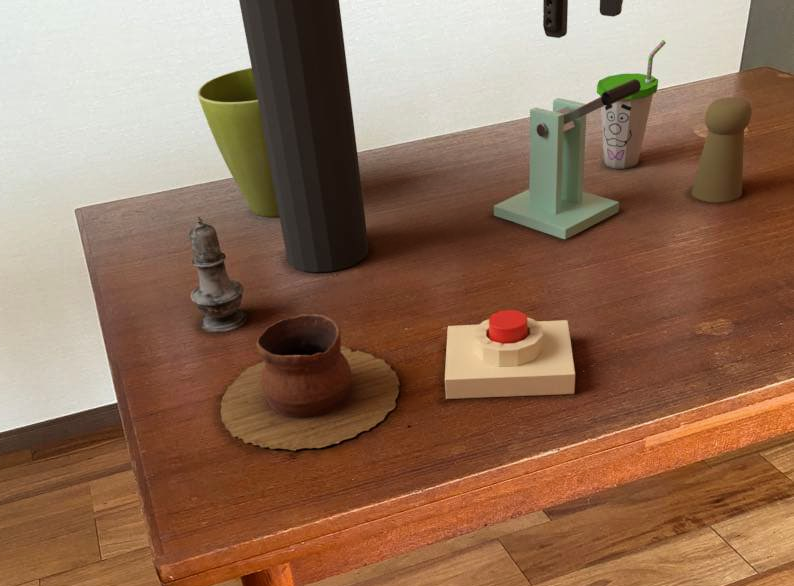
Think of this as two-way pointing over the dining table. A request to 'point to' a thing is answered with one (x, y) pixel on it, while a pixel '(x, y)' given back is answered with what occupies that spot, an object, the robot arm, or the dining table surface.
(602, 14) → the robot arm
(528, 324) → the button block
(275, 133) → the dark grey column
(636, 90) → the lever
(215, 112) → the flower pot
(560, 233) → the bracket
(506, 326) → the button
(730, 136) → the olive pawn
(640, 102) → the cup
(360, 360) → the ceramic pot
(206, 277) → the salt shaker
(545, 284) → the dining table surface
